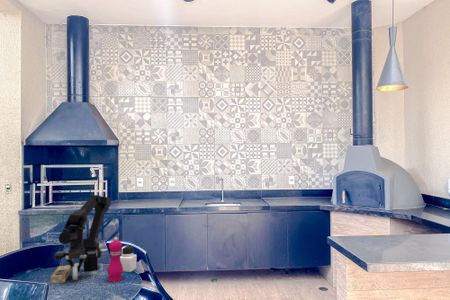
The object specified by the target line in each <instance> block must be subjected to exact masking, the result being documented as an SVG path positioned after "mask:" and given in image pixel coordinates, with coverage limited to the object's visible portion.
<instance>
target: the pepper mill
mask: <svg viewBox="0 0 450 300" xmlns="http://www.w3.org/2000/svg"><path fill="white" fill-rule="evenodd" d="M118 239H119V238H118V237H116V236H115V237H114V238H113V240H112V241H111V242H110V243H109V245H108V248H109V255H110V261H109V264H108V266H107V268H106V269H107V270H106V272H107V274H108V279H107V281H108V282H110V283H116V282H120V281H122V280H123V275H122V273H123V266H122V264H121V261H120V256H121V255H122V247H123V243H122V242H121V241H120V240H118Z"/></svg>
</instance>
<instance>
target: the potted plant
mask: <svg viewBox="0 0 450 300" xmlns="http://www.w3.org/2000/svg"><path fill="white" fill-rule="evenodd" d="M134 249H135V248H134V246H132V245H124V246H122V248H121V255H120V261H121V264H122V266H123V272H124V273H131V272H133V271H134V270H136V269H137V257H138V256H137V254H134V251H135V250H134ZM123 272H122V273H123Z"/></svg>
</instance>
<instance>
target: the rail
mask: <svg viewBox="0 0 450 300" xmlns="http://www.w3.org/2000/svg"><path fill="white" fill-rule="evenodd" d="M71 273H72V269H71V266H70V265H59V266H57V268H56V269H55V270H54V271H53V273H52V274H51V275H50V284H59V283H63V284H64V283H65V282H66V280H67V279H68V277H69V276H70V274H71Z"/></svg>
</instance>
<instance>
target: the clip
mask: <svg viewBox="0 0 450 300" xmlns="http://www.w3.org/2000/svg"><path fill="white" fill-rule="evenodd" d="M78 266H79V262H76V263H75V262H74V266H73V272H72V280H73V281H74V280H78V279H79V277H80V271H79V272H78Z"/></svg>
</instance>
